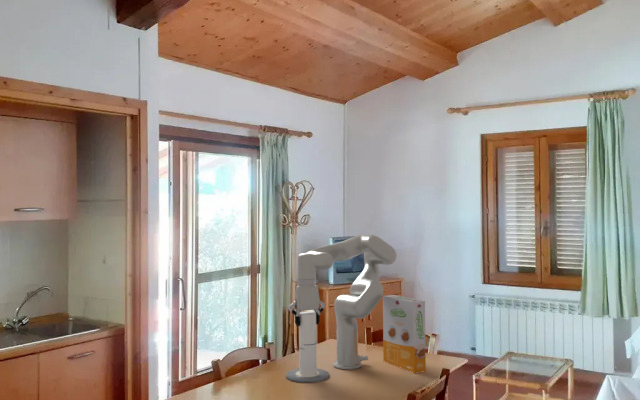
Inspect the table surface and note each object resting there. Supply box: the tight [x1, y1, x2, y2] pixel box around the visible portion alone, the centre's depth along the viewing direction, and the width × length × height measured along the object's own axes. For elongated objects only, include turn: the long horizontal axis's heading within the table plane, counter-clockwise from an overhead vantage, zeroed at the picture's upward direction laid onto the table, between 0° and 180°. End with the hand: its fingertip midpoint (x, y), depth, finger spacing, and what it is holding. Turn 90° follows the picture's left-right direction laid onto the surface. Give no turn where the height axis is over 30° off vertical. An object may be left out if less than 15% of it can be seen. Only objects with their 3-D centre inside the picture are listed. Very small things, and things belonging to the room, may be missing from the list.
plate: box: [285, 367, 330, 384], centre depth 231 cm, size 18×18×1 cm
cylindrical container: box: [298, 311, 317, 376], centre depth 232 cm, size 7×7×25 cm
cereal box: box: [382, 294, 427, 374], centre depth 246 cm, size 22×6×30 cm, turn 28°
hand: (307, 324), depth 232 cm, fingers open, 7 cm apart
